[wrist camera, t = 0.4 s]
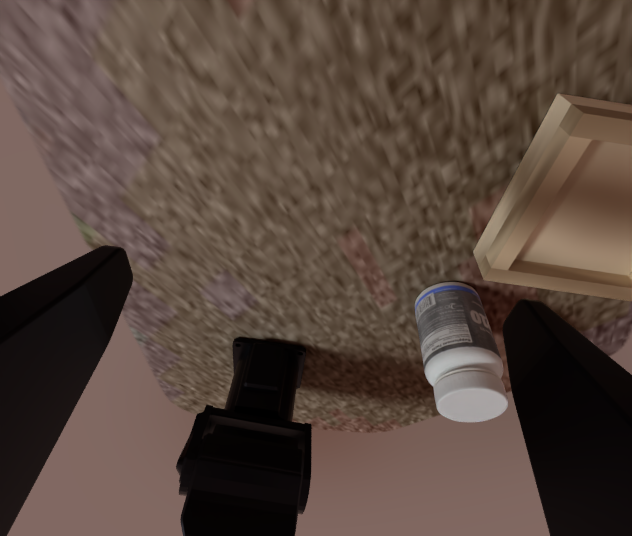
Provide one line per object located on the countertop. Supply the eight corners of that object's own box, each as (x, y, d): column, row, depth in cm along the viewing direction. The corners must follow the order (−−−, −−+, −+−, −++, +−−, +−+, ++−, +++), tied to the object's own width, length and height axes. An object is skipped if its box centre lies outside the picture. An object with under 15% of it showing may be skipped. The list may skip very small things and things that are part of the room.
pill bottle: (486, 311, 28) (524, 418, 22) (426, 328, 30) (445, 431, 24) (468, 270, 26) (505, 378, 19) (404, 291, 27) (418, 396, 21)
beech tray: (619, 272, 25) (642, 302, 23) (473, 251, 24) (483, 280, 22) (757, 124, 18) (808, 148, 16) (557, 93, 18) (583, 113, 16)
